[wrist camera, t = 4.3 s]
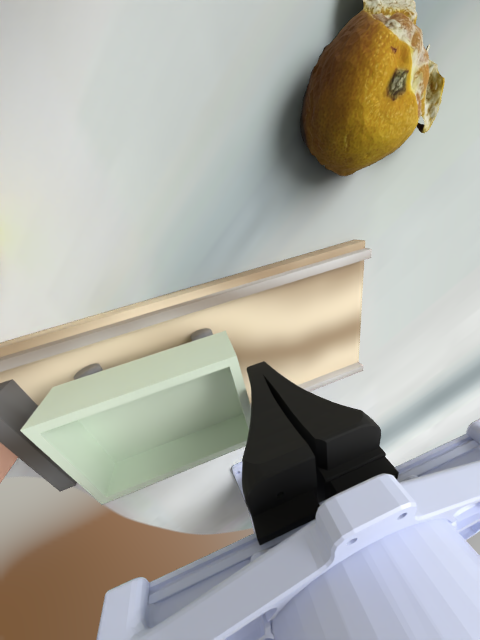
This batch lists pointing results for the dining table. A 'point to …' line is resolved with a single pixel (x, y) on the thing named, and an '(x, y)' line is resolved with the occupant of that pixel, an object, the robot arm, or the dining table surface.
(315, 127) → the fruit
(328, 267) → the track
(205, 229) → the dining table surface
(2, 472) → the block
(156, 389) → the pale green open tray
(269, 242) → the dining table surface
